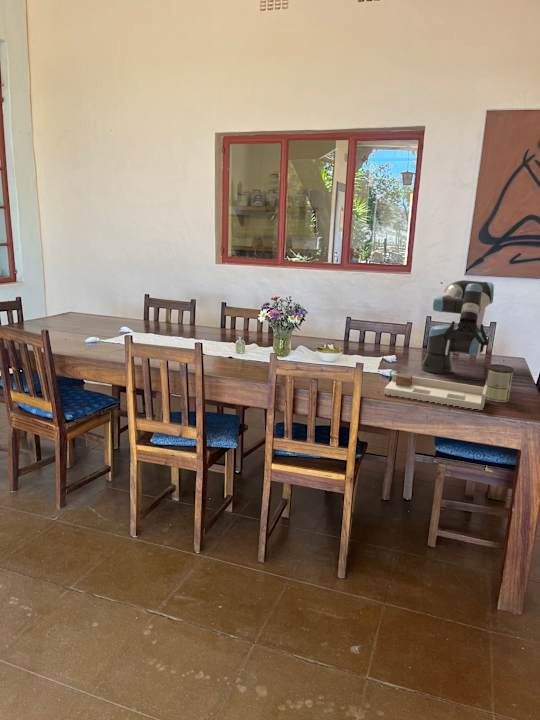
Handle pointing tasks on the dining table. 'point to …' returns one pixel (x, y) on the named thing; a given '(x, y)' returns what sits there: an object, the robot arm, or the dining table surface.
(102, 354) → the dining table surface
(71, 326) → the dining table surface
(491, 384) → the coffee can
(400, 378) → the block
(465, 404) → the box
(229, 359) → the dining table surface
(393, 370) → the sunglasses
